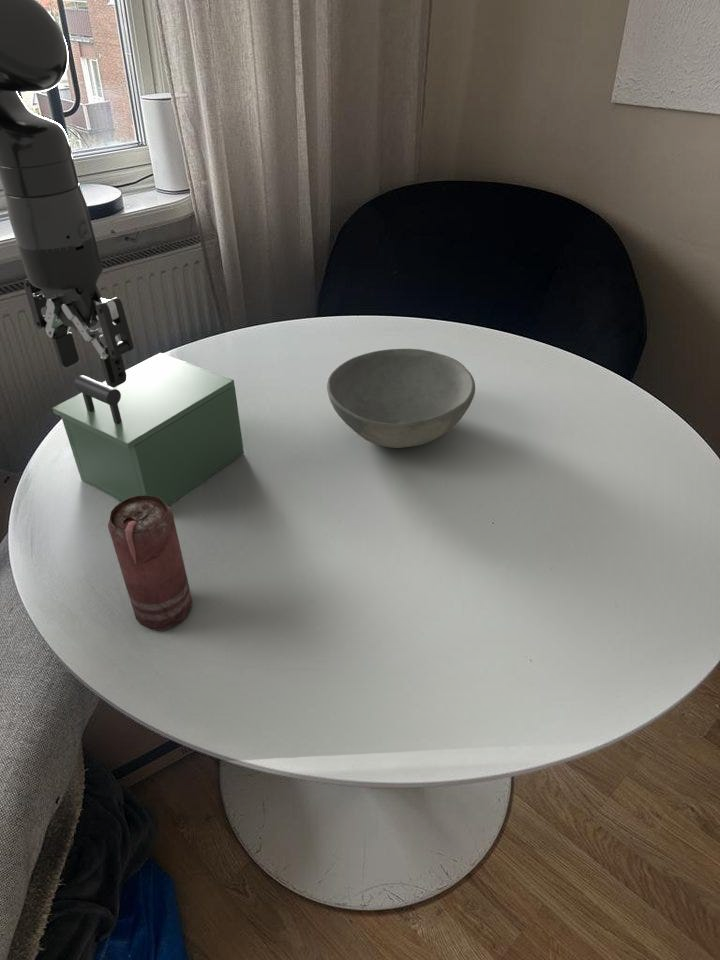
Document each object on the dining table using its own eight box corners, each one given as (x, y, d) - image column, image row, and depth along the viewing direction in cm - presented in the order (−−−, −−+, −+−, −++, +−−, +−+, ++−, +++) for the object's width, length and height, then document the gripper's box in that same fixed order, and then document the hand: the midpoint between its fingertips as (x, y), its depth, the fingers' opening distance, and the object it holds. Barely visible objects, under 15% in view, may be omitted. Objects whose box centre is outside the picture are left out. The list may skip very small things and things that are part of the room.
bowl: (483, 468, 96) (489, 418, 91) (330, 474, 95) (327, 424, 91) (458, 389, 113) (462, 344, 108) (327, 394, 112) (325, 349, 107)
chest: (152, 518, 88) (134, 446, 82) (81, 480, 95) (59, 410, 88) (244, 453, 100) (234, 385, 93) (174, 423, 106) (161, 357, 99)
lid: (128, 449, 81) (118, 409, 78) (53, 413, 88) (41, 374, 84) (234, 385, 93) (229, 347, 90) (161, 357, 99) (154, 321, 96)
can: (130, 636, 73) (99, 536, 65) (140, 592, 78) (112, 494, 70) (189, 632, 74) (166, 532, 65) (195, 588, 79) (174, 490, 70)
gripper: (-19, 231, 73) (28, 370, 83) (67, 258, 66) (107, 405, 76) (43, 212, 78) (81, 346, 88) (130, 235, 71) (160, 377, 81)
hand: (93, 373), depth 82 cm, fingers open, 8 cm apart
